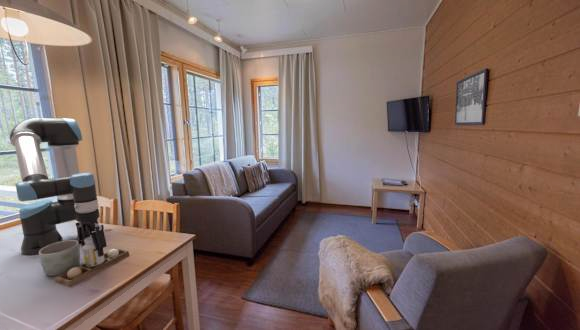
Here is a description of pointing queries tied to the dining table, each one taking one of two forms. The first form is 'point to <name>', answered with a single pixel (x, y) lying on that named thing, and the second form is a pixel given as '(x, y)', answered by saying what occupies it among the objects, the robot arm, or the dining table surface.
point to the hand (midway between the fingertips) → (94, 261)
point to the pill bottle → (89, 252)
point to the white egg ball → (112, 253)
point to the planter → (60, 257)
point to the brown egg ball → (74, 272)
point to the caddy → (90, 269)
